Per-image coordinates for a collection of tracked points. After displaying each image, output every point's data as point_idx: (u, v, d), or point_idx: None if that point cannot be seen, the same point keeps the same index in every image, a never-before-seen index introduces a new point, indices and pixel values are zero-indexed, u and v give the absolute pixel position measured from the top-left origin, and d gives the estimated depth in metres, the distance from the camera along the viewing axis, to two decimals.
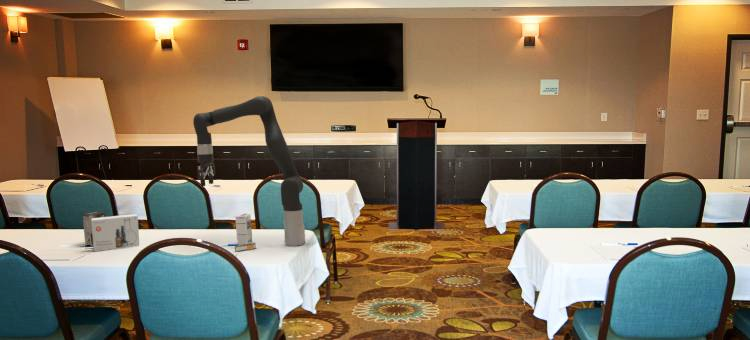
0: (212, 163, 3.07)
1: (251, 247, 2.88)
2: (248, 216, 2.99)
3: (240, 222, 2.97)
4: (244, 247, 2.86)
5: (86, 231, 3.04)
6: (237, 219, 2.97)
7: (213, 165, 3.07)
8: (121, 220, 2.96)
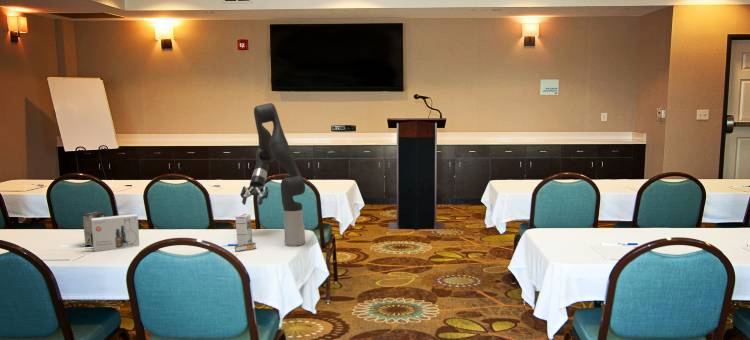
0: (266, 187, 3.15)
1: (251, 247, 2.88)
2: (248, 216, 2.99)
3: (240, 222, 2.97)
4: (244, 247, 2.86)
5: (86, 231, 3.04)
6: (237, 219, 2.97)
7: (265, 188, 3.14)
8: (121, 220, 2.96)
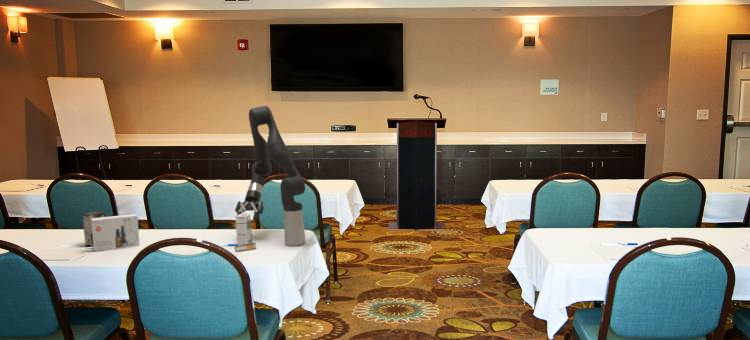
0: (261, 202, 3.08)
1: (251, 247, 2.88)
2: (248, 216, 2.99)
3: (240, 222, 2.97)
4: (244, 247, 2.86)
5: (86, 231, 3.04)
6: (237, 219, 2.97)
7: (260, 203, 3.07)
8: (120, 220, 2.96)
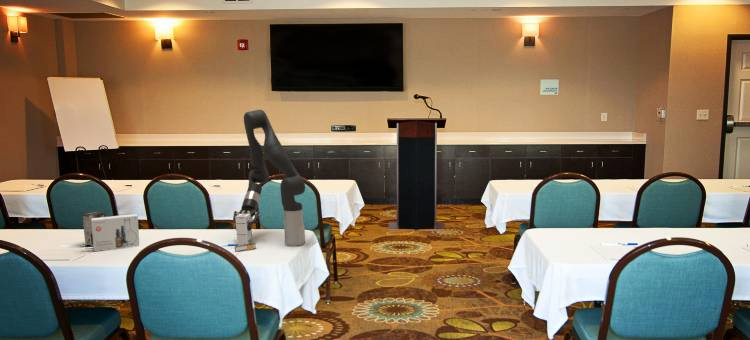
0: (258, 212, 3.03)
1: (251, 247, 2.88)
2: (248, 216, 2.99)
3: (240, 222, 2.97)
4: (244, 247, 2.86)
5: (86, 231, 3.04)
6: (237, 219, 2.97)
7: (256, 213, 3.02)
8: (121, 220, 2.96)
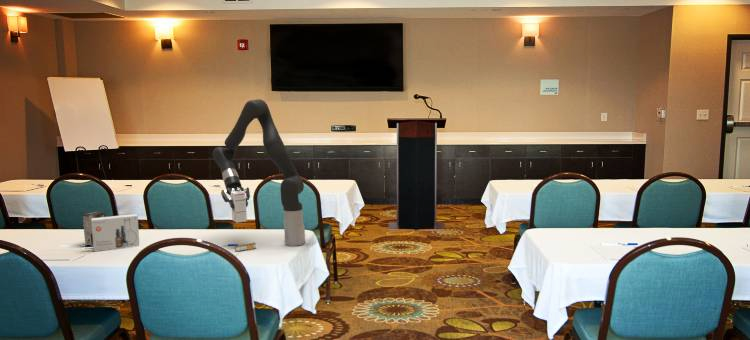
0: (246, 188, 2.97)
1: (251, 247, 2.88)
2: None
3: (239, 199, 2.88)
4: (244, 247, 2.86)
5: (86, 231, 3.04)
6: (236, 196, 2.87)
7: (246, 189, 2.96)
8: (121, 220, 2.96)
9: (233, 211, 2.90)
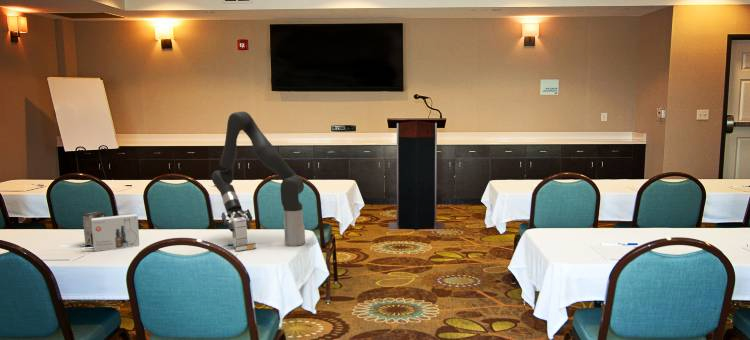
0: None
1: (251, 247, 2.88)
2: None
3: (240, 226, 2.89)
4: (244, 247, 2.86)
5: (86, 231, 3.04)
6: (237, 223, 2.88)
7: (247, 211, 2.97)
8: (120, 220, 2.96)
9: (234, 238, 2.90)
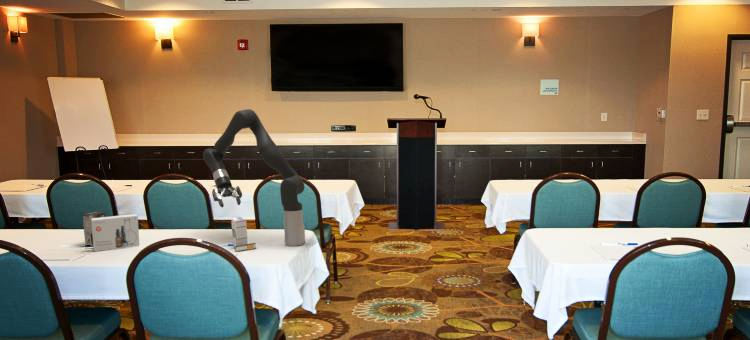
0: (236, 187, 3.08)
1: (251, 247, 2.88)
2: None
3: (240, 226, 2.89)
4: (244, 247, 2.86)
5: (86, 231, 3.04)
6: (237, 223, 2.88)
7: (237, 188, 3.07)
8: (120, 220, 2.96)
9: (234, 238, 2.90)
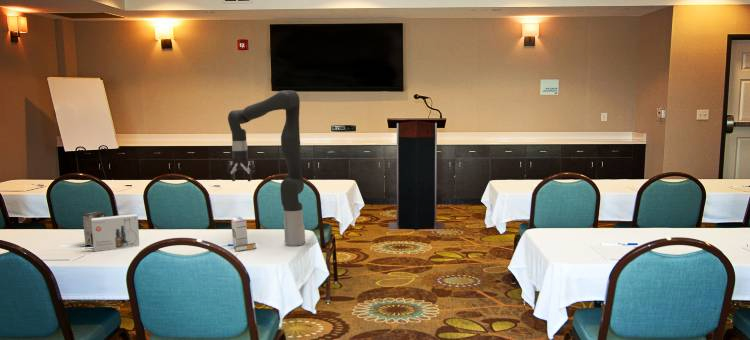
0: (250, 161, 3.04)
1: (251, 247, 2.88)
2: None
3: (240, 226, 2.89)
4: (244, 247, 2.86)
5: (86, 231, 3.04)
6: (237, 223, 2.88)
7: (250, 163, 3.04)
8: (120, 220, 2.96)
9: (234, 238, 2.90)
